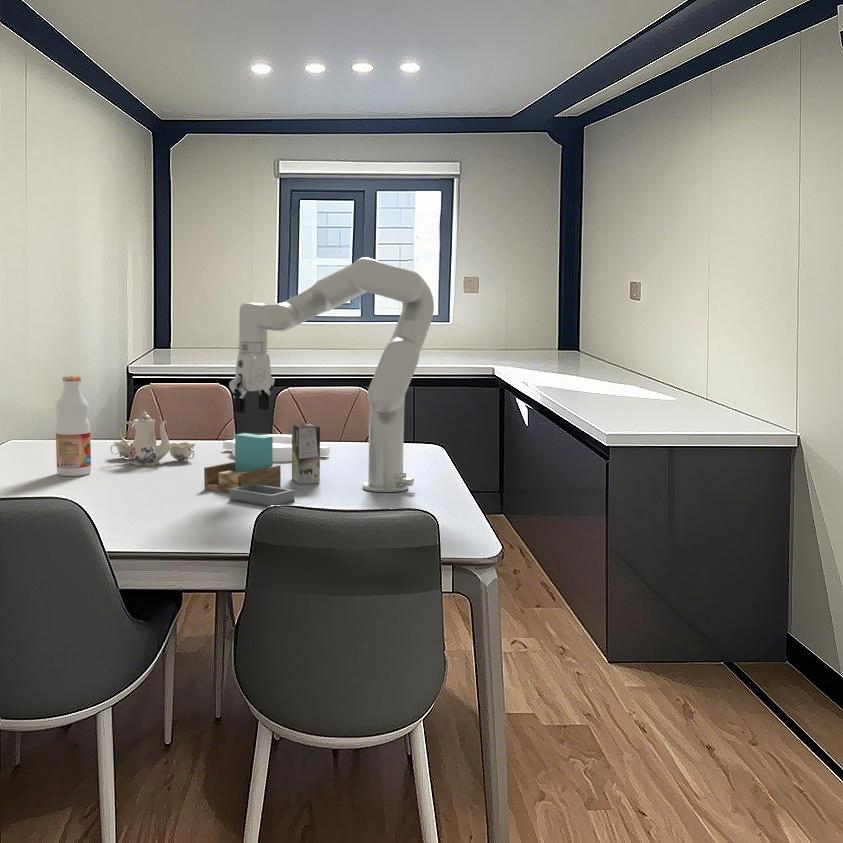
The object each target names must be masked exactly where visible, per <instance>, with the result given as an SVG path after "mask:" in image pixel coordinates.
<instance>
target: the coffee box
mask: <svg viewBox="0 0 843 843" xmlns="http://www.w3.org/2000/svg"><path fill="white" fill-rule="evenodd" d="M291 435H292V461H291V479H292V481H294V482H296V483H297V484H298V485H307V484H309V485H310V484H311V485H312V484H320V481H321V479H320V478H321V477H320V476H321V471H320V470H321V456H320V446H321V427H320V425H317V424H315V423H312V422H302V423H301V422H298V423H291Z"/></svg>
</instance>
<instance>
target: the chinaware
mask: <svg viewBox="0 0 843 843" xmlns="http://www.w3.org/2000/svg"><path fill="white" fill-rule="evenodd" d="M155 422H156V419H153V418H152V417H151V416H150V415H149V414H148V413H147V411H146V410H143V411H142V413H141V415H139V416H138V418H135V419H134V420H133V421H125V422H123V423H121V424H120V426H119V428H118V436H119V437H120V438H119V439H120V441H114V443H113V444H112V445H111V447H110V453H111V454H113V455H119V457H120V458H121V457H123V458H129V459H128V460H130V461H131V463H132V464H134V465H133V466H138V465H146V467H147V466H149V465H150V466H156V465H159V464H160V461H161V460H162V459H163V458H164V457H165V456H166V455H167V454H168V453H169V454H170V456H171V457H172V458H173V459H175V462H176V463H185V462H188V461H189V460H192V459H194V457H195V451H194V448H195V446H196V443H192V444H191V443H189V442H186V441H185V442H181V443H175V442H172V443H170V440H169V437H168V434H167V431H166V427H165V425H166V423H168V420H165V419H164V420H163V421H161V423H160V425H159V435H160V444H159V443H158V442H157V439H156V434H155ZM125 425H130V428H131V429H134V428H135V437H134V440H133V441H131V440H129V439H125V437H123V435H122V428H123V427H124V426H125ZM113 447H116V450H117V453H114V452H113V451H112V448H113ZM191 455H192V457H191ZM132 464H131V465H132Z"/></svg>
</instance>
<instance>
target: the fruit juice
mask: <svg viewBox="0 0 843 843" xmlns="http://www.w3.org/2000/svg"><path fill="white" fill-rule="evenodd" d="M81 381H82V378H81V376H79V375H78V376H77V375H76V376H75V375H68V376H67V375H66V376H63V377H62V383H63V390H62V393H61V396H60V398H59V399H58V400H57V402H56V404H55V412H56V415H57V416H56V417H57V420H56V423H55V447H56V448H55V451H56V452H55V453H56V456H55V457H56V473H57V475H58V476H62V477H81V476H87V475H89V474H90V473H91V472H92V453H91V452H92V451H91V450H92V449H91V446H92V445H91V425H90V424H91V423H90V420H89V417H88V416H89V413H90V404H89V402H88V401H87V399H86V398H85V397H84V395H83V393H82V390H81Z"/></svg>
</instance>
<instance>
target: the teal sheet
mask: <svg viewBox="0 0 843 843" xmlns="http://www.w3.org/2000/svg"><path fill="white" fill-rule="evenodd" d="M264 435H265V434H256V433H255V434H254V433H248V432H243V433H239V434H235V435H234V439H235V457H234V462H235V472H241V473H243V472H248V471H252V470H257V469H262V468H266V467H271V466H274V464H273V463H274V462H273V437H272V436H264Z"/></svg>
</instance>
